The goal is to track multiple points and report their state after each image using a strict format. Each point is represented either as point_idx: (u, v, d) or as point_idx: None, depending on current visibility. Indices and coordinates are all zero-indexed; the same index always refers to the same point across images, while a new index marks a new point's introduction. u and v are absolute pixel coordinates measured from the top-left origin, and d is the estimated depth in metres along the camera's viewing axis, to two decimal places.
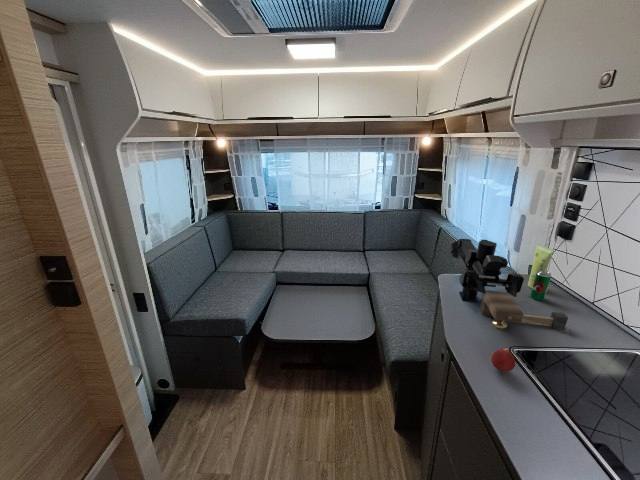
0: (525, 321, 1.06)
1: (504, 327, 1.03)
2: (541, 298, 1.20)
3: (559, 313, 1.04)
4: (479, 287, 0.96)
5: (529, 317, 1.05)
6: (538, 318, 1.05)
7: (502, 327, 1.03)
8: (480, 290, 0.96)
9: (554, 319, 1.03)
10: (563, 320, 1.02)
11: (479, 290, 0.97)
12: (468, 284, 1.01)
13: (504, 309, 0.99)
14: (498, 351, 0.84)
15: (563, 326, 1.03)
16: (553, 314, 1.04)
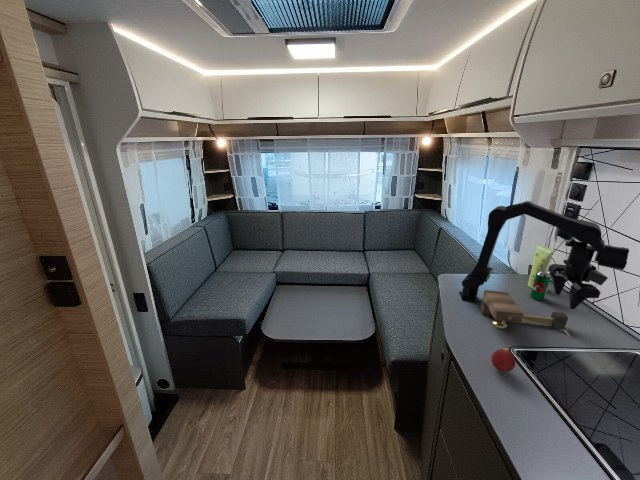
0: (525, 321, 1.06)
1: (504, 327, 1.03)
2: (541, 298, 1.20)
3: (559, 313, 1.04)
4: (576, 304, 0.95)
5: (529, 317, 1.05)
6: (538, 318, 1.05)
7: (502, 327, 1.03)
8: (573, 305, 0.96)
9: (554, 319, 1.03)
10: (563, 320, 1.02)
11: (573, 304, 0.95)
12: None
13: (504, 309, 0.99)
14: (498, 351, 0.84)
15: (563, 326, 1.03)
16: (553, 314, 1.04)
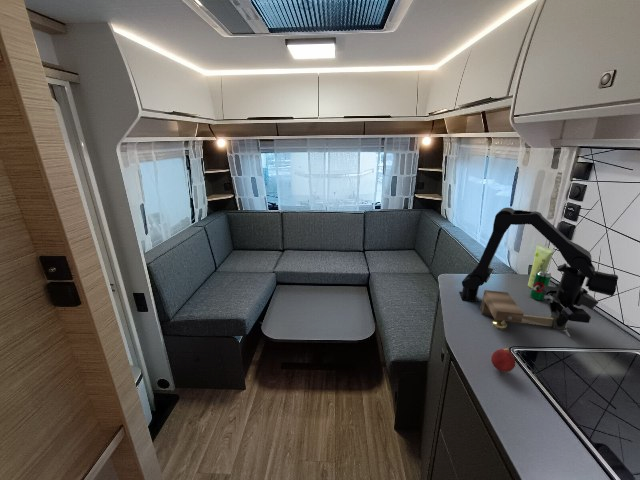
0: (525, 321, 1.06)
1: (504, 327, 1.03)
2: (541, 298, 1.20)
3: None
4: (564, 322, 1.01)
5: (529, 317, 1.05)
6: (538, 318, 1.05)
7: (502, 327, 1.03)
8: (560, 323, 1.02)
9: (554, 319, 1.03)
10: None
11: (560, 322, 1.01)
12: None
13: (504, 309, 0.99)
14: (498, 351, 0.84)
15: (563, 326, 1.03)
16: (553, 314, 1.04)
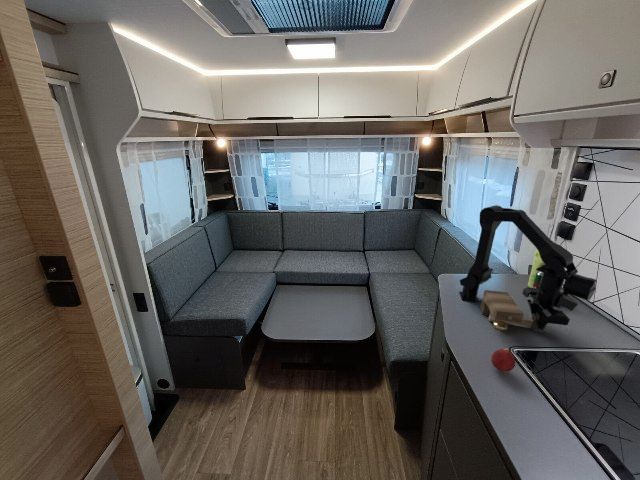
0: (504, 321, 1.05)
1: (505, 328, 1.02)
2: None
3: None
4: (544, 324, 0.99)
5: None
6: None
7: (503, 328, 1.02)
8: (541, 325, 0.99)
9: (533, 321, 1.01)
10: None
11: (540, 324, 0.99)
12: None
13: (504, 309, 0.99)
14: (498, 351, 0.84)
15: None
16: (533, 316, 1.02)
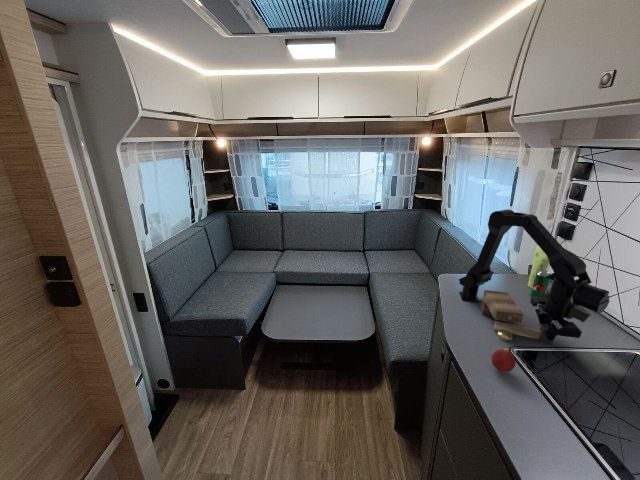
0: (510, 331, 1.00)
1: (509, 338, 0.97)
2: None
3: None
4: (553, 336, 0.93)
5: (514, 327, 0.99)
6: (524, 329, 0.98)
7: (507, 338, 0.97)
8: (550, 337, 0.94)
9: (541, 332, 0.96)
10: None
11: (550, 336, 0.93)
12: None
13: (504, 309, 0.99)
14: (498, 351, 0.84)
15: None
16: (541, 326, 0.96)
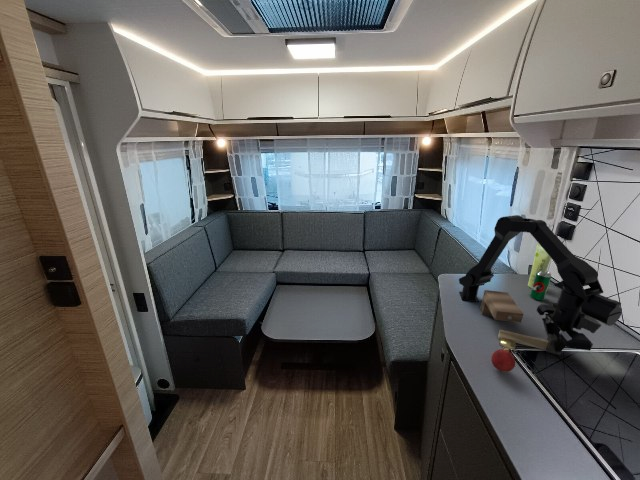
0: (515, 340, 0.96)
1: (512, 348, 0.93)
2: (541, 298, 1.20)
3: None
4: (562, 347, 0.88)
5: (519, 336, 0.95)
6: (530, 339, 0.94)
7: (510, 348, 0.93)
8: (558, 348, 0.89)
9: (549, 342, 0.91)
10: None
11: (558, 347, 0.89)
12: None
13: (504, 309, 0.99)
14: (498, 351, 0.84)
15: None
16: (549, 336, 0.92)
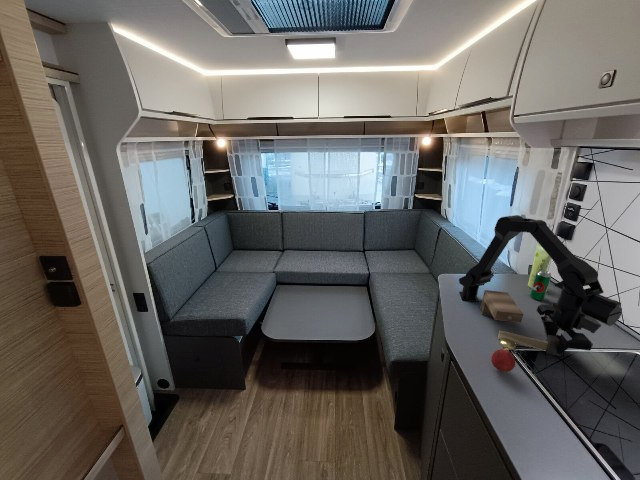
0: (515, 341, 0.96)
1: (512, 348, 0.93)
2: (541, 298, 1.20)
3: None
4: (563, 349, 0.88)
5: (519, 337, 0.95)
6: (530, 340, 0.94)
7: (510, 348, 0.93)
8: (560, 350, 0.88)
9: (548, 343, 0.92)
10: None
11: (559, 349, 0.88)
12: None
13: (504, 309, 0.99)
14: (498, 351, 0.84)
15: None
16: (548, 337, 0.92)
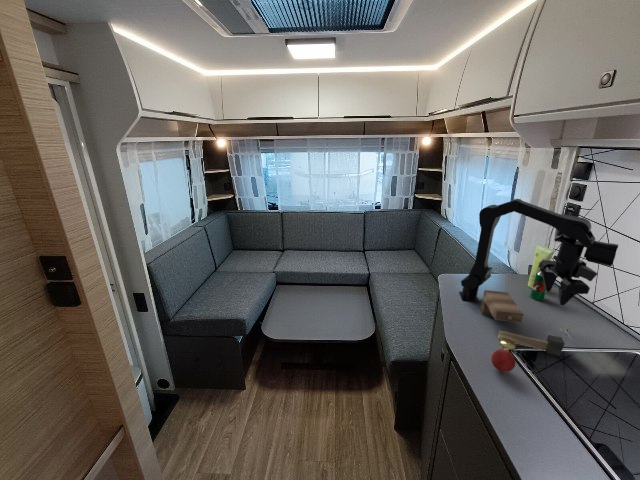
0: (515, 341, 0.96)
1: (512, 348, 0.93)
2: (541, 298, 1.20)
3: (556, 337, 0.91)
4: (566, 300, 0.94)
5: (519, 337, 0.95)
6: (530, 340, 0.94)
7: (510, 348, 0.93)
8: (563, 301, 0.95)
9: (548, 343, 0.92)
10: (559, 345, 0.90)
11: (562, 300, 0.95)
12: None
13: (504, 309, 0.99)
14: (498, 351, 0.84)
15: (559, 352, 0.91)
16: (548, 337, 0.92)
